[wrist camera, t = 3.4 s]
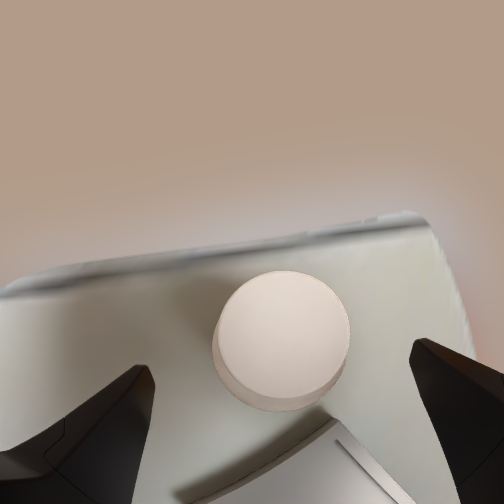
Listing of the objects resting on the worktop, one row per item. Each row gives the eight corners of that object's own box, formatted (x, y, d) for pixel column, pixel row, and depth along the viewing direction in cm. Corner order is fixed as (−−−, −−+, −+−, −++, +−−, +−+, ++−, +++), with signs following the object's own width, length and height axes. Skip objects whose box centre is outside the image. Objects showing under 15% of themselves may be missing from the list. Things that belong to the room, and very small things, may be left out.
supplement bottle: (238, 314, 18) (208, 242, 9) (321, 320, 17) (369, 254, 9) (228, 396, 16) (180, 409, 7) (315, 403, 15) (367, 422, 6)
